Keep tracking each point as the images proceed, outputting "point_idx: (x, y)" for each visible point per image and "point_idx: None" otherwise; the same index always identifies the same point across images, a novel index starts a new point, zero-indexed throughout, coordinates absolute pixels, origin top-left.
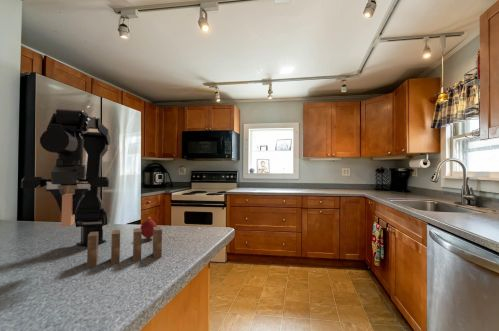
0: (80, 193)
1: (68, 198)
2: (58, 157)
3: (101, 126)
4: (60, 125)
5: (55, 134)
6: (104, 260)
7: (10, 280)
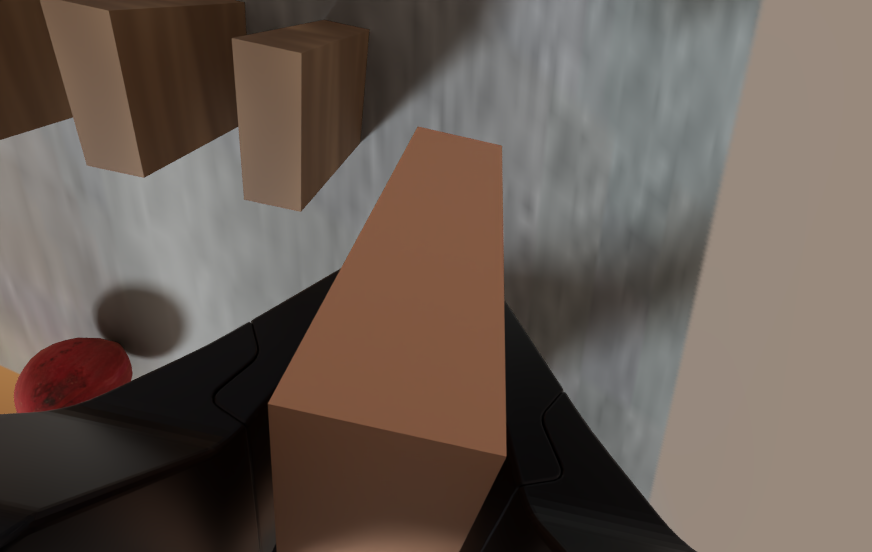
0: (49, 424)
1: (373, 338)
2: None
3: None
4: None
5: None
6: None
7: (727, 40)
